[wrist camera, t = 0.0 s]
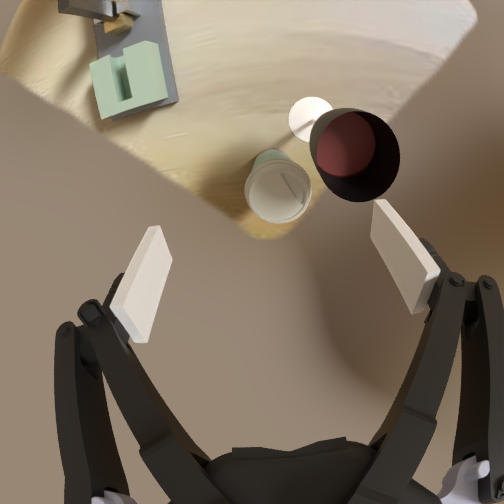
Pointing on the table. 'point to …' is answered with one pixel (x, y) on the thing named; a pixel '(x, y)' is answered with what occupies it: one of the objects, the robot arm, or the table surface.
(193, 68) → the table surface
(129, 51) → the socket block
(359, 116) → the wineglass
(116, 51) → the base board
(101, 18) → the sliding bolt with handle
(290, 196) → the coffee cup
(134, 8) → the steel sleeve
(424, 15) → the table surface
